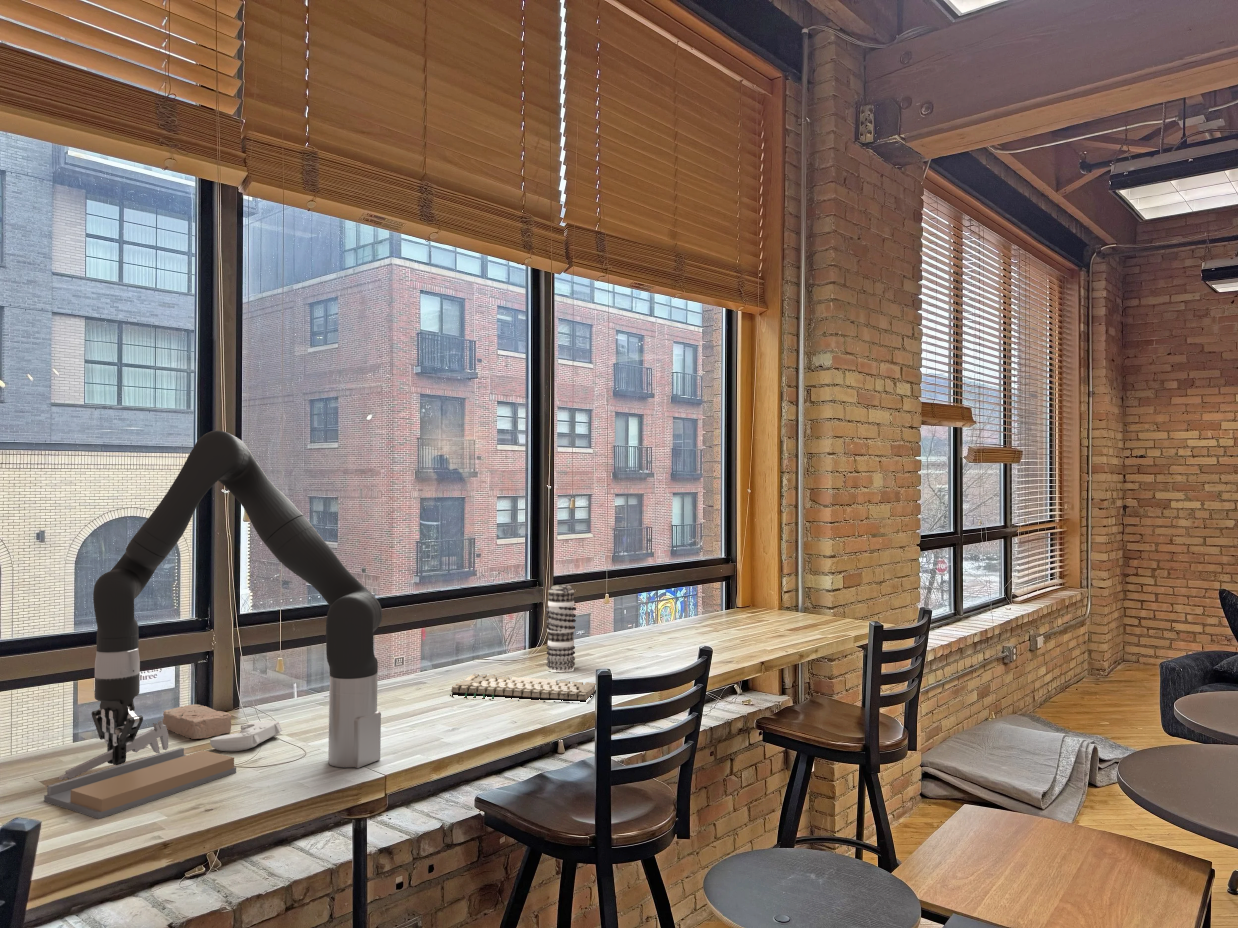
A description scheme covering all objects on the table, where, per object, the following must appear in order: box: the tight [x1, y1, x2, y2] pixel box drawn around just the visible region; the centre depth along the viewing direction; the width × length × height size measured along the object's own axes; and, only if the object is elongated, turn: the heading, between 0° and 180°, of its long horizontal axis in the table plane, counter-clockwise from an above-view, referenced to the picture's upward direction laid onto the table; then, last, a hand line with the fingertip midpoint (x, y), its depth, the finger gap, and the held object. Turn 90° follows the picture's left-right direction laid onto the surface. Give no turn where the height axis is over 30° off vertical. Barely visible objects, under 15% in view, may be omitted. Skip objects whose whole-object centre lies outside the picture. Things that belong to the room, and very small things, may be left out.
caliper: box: [58, 720, 169, 781], centre depth 165 cm, size 21×1×6 cm, turn 152°
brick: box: [162, 703, 232, 740], centre depth 191 cm, size 16×8×5 cm, turn 52°
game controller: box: [209, 720, 283, 752], centre depth 182 cm, size 14×4×10 cm
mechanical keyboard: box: [449, 673, 597, 702], centre depth 228 cm, size 38×19×3 cm, turn 81°
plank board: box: [43, 747, 237, 820], centre depth 156 cm, size 16×26×3 cm, turn 152°
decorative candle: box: [545, 584, 577, 671], centre depth 256 cm, size 9×9×25 cm
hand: (116, 762), depth 165 cm, fingers closed on caliper, 1 cm apart
